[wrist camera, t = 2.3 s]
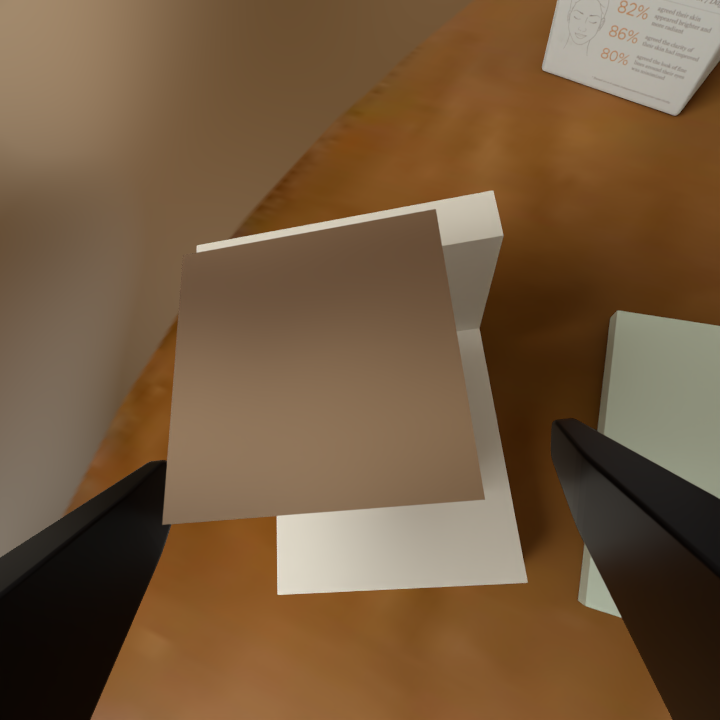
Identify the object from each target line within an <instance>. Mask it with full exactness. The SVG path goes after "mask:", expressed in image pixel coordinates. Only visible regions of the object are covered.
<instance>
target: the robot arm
mask: <svg viewBox="0 0 720 720" xmlns="http://www.w3.org/2000/svg"><path fill="white" fill-rule="evenodd" d="M551 456H552V460H553V463H554V466H555V469H556V472H557V474H558V477H559V480H560V483H561V485H562V488H563V491H564V494H565V497H566V499H567V502H568V505H569V508H570V510H571V513H572V516H573V518H574V521H575V524H576V526H577V528H578V530H579V533H580V535H581V537H582V539H583V541H584V543H585V545H586V547H587V549H588V551H589V553H590V555H591V557H592V559H593V561H594V563H595V565H596V567H597V569H598V571H599V573H600V575H601V577H602V579H603V581H604V583H605V585H606V587H607V589H608V591H609V593H610V595H611V597H612V599H613V601H614V603H615V605H616V607H617V609H618V611H619V613H620V615H621V617H622V619H623V621H624V623H625V625H626V627H627V629H628V631H629V633H630V635H631V637H632V639H633V641H634V643H635V645H636V647H637V649H638V651H639V653H640V655H641V657H642V659H643V661H644V663H645V665H646V667H647V669H648V671H649V673H650V675H651V677H652V679H653V681H654V683H655V685H656V687H657V689H658V691H659V693H660V695H661V697H662V699H663V701H664V703H665V705H666V707H667V709H668V711H669V713H670V715H671V717H672V719H673V720H720V499H719V498H718V497H716V496H714V495H712V494H710V493H709V492H707V491H705V490H703V489H701V488H699V487H698V486H696V485H694V484H692V483H690V482H689V481H687V480H685V479H683V478H681V477H680V476H678V475H676V474H674V473H672V472H670V471H669V470H667V469H665V468H663V467H661V466H660V465H658V464H656V463H654V462H652V461H651V460H649V459H647V458H645V457H643V456H642V455H640V454H638V453H636V452H634V451H632V450H631V449H629V448H627V447H625V446H623V445H622V444H620V443H618V442H616V441H614V440H613V439H611V438H609V437H607V436H605V435H603V434H602V433H600V432H598V431H596V430H594V429H593V428H591V427H589V426H587V425H585V424H584V423H582V422H580V421H578V420H576V419H573V418H568V419H559V420H555V421H553V423H552V431H551ZM166 471H167V461H166V460H159V461H151V462H149V463H147V464H145V465H144V466H142V467H141V468H139V469H137V470H136V471H134V472H133V473H131V474H130V475H128V476H127V477H125V478H123V479H122V480H120V481H119V482H117V483H116V484H114V485H113V486H111V487H109V488H108V489H106V490H105V491H103V492H102V493H100V494H99V495H97V496H95V497H94V498H92V499H91V500H89V501H88V502H86V503H84V504H83V505H81V506H80V507H78V508H77V509H75V510H74V511H72V512H70V513H69V514H67V515H66V516H64V517H63V518H61V519H60V520H58V521H57V522H55V523H53V524H52V525H50V526H49V527H47V528H46V529H44V530H42V531H41V532H40V533H38V534H36V535H35V536H33V537H32V538H30V539H29V540H27V541H25V542H24V543H22V544H21V545H19V546H18V547H16V548H14V549H13V550H11V551H10V552H9V553H7V554H5V555H4V556H2V557H1V558H0V720H90V719H91V717H92V715H93V712H94V710H95V708H96V705H97V703H98V701H99V699H100V696H101V694H102V692H103V689H104V687H105V685H106V682H107V680H108V678H109V675H110V673H111V671H112V668H113V666H114V664H115V661H116V659H117V657H118V654H119V652H120V650H121V647H122V645H123V643H124V641H125V638H126V636H127V634H128V631H129V629H130V627H131V624H132V622H133V620H134V617H135V615H136V613H137V610H138V608H139V606H140V603H141V601H142V599H143V596H144V594H145V592H146V589H147V587H148V585H149V582H150V580H151V578H152V576H153V573H154V571H155V569H156V566H157V564H158V561H159V559H160V557H161V554H162V551H163V548H164V546H165V543H166V540H167V536H168V533H169V530H170V527H171V524H166V525H162V522H163V509H164V496H165V484H166Z"/></svg>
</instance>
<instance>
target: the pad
mask: <svg viewBox="0 0 720 720" xmlns="http://www.w3.org/2000/svg"><path fill="white" fill-rule="evenodd" d="M597 431H598V432H600V433H602V434H603V435H605V436H607V437H609V438H611V439H613V440H614V441H616V442H618V443H620V444H622V445H623V446H625V447H627V448H629V449H631V450H632V451H634V452H636V453H638V454H640V455H642V456H643V457H645V458H647V459H649V460H651V461H652V462H654V463H656V464H658V465H660V466H661V467H663V468H665V469H667V470H669V471H670V472H672V473H674V474H676V475H678V476H680V477H681V478H683V479H685V480H687V481H689V482H690V483H692V484H694V485H696V486H698V487H699V488H701V489H703V490H705V491H707V492H709V493H710V494H712V495H714V496H716V497H718V498H719V499H720V326H716V325H710V324H703V323H697V322H690V321H684V320H677V319H671V318H664V317H658V316H651V315H644V314H638V313H631V312H625V311H618V310H617V311H616V312H615V313H614V314H613V315H612V316H611V317H610V324H609V332H608V341H607V350H606V359H605V368H604V376H603V385H602V394H601V403H600V412H599V420H598V429H597ZM578 601H579V602H581V603H582V604H583V605H585V606H587V607H590V608H593V609H596V610H599V611H602V612H606V613H609V614H612V615H615V616H618V617H621V615H620V613H619V611H618V609H617V607H616V605H615V603H614V601H613V599H612V597H611V595H610V593H609V591H608V589H607V587H606V585H605V583H604V581H603V579H602V577H601V575H600V573H599V571H598V569H597V567H596V565H595V563H594V561H593V559H592V557H591V555H590V553H589V551H588V549H587V547H586V545H585V543H584V552H583V561H582V570H581V579H580V587H579V596H578ZM621 618H622V617H621Z"/></svg>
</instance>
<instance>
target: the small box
mask: <svg viewBox="0 0 720 720" xmlns="http://www.w3.org/2000/svg"><path fill="white" fill-rule="evenodd" d="M719 61H720V0H558V1H557V5H556V9H555V13H554V18H553V22H552V27H551V31H550V35H549V39H548V44H547V48H546V52H545V56H544V61H543V65H542V70H543V71H545V72H548V73H552V74H555V75H557V76H560V77H563V78H566V79H569V80H572V81H575V82H577V83H580V84H583V85H586V86H589V87H592V88H595V89H598V90H601V91H604V92H607V93H609V94H612V95H615V96H618V97H621V98H624V99H627V100H630V101H633V102H636V103H639V104H642V105H644V106H647V107H650V108H653V109H656V110H659V111H662V112H665V113H668V114H671V115H674V116H677V115H678V114H679V113H680V112H681V111H682V110H683V108H684V107H685V105H686V104H687V103H688V101H689V100H690V99H691V97H692V96H693V95H694V94H695V92H696V91H697V90H698V88H699V87H700V86H701V84H702V83H703V82H704V80H705V79H706V78H707V76H708V75H709V74H710V72H711V71H712V70H713V69H714V67H715V66H716V65H717V63H718V62H719Z"/></svg>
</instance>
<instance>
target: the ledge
mask: <svg viewBox="0 0 720 720" xmlns="http://www.w3.org/2000/svg"><path fill="white" fill-rule="evenodd" d="M432 209H436V213H437V219H438V224H439V230H440V236H441V242H442V248H443V254H444V260H445V266H446V272H447V278H448V283H449V289H450V295H451V301H452V307H453V313H454V319H455V325H456V331H457V337H458V342H459V348H460V354H461V360H462V366H463V372H464V378H465V384H466V390H467V396H468V401H469V407H470V413H471V419H472V425H473V431H474V437H475V443H476V449H477V455H478V460H479V466H480V472H481V478H482V484H483V490H484V496H485V500H474V501H461V502H448V503H435V504H422V505H410V506H397V507H384V508H371V509H358V510H346V511H333V512H320V513H307V514H294V515H282V516H277V588H278V595H284V594H304V593H325V592H346V591H367V590H387V589H408V588H429V587H450V586H470V585H491V584H512V583H528V581H527V576H526V571H525V565H524V560H523V555H522V550H521V544H520V539H519V534H518V529H517V523H516V518H515V513H514V508H513V502H512V497H511V492H510V487H509V481H508V476H507V471H506V465H505V460H504V455H503V450H502V444H501V439H500V434H499V429H498V423H497V418H496V413H495V408H494V402H493V397H492V392H491V387H490V381H489V376H488V371H487V366H486V360H485V355H484V350H483V345H482V339H481V334H480V329H479V328H480V324H481V320H482V316H483V313H484V309H485V305H486V301H487V297H488V293H489V290H490V286H491V282H492V278H493V274H494V270H495V266H496V263H497V259H498V255H499V251H500V247H501V243H502V240H503V236H504V235H503V231H502V227H501V222H500V218H499V214H498V209H497V205H496V201H495V196H494V192H493V191H488V192H482V193H477V194H472V195H466V196H461V197H455V198H450V199H445V200H439V201H434V202H429V203H423V204H418V205H412V206H407V207H402V208H396V209H391V210H386V211H380V212H375V213H369V214H364V215H359V216H353V217H348V218H342V219H337V220H332V221H326V222H321V223H316V224H310V225H305V226H299V227H294V228H289V229H283V230H278V231H273V232H267V233H262V234H256V235H251V236H246V237H240V238H235V239H229V240H224V241H219V242H213V243H208V244H203V245H198V246H197V253H198V252H203V251H209V250H214V249H220V248H225V247H230V246H236V245H241V244H247V243H252V242H258V241H263V240H269V239H274V238H280V237H285V236H291V235H296V234H301V233H307V232H312V231H318V230H323V229H329V228H334V227H340V226H345V225H351V224H356V223H361V222H367V221H372V220H378V219H383V218H389V217H394V216H400V215H405V214H411V213H416V212H422V211H427V210H432Z"/></svg>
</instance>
